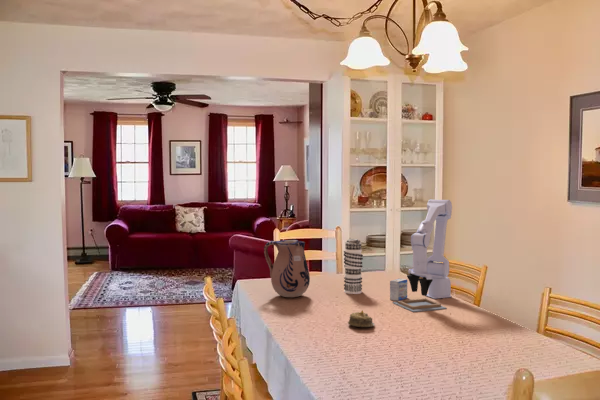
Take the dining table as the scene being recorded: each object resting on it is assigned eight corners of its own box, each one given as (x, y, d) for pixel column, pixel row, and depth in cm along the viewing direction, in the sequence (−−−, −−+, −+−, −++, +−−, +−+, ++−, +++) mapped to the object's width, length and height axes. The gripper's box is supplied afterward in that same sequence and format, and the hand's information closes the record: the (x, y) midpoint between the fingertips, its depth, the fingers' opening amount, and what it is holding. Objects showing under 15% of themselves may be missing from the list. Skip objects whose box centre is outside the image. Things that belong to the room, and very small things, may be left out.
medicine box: (398, 301, 227) (398, 281, 227) (389, 299, 230) (389, 280, 230) (407, 298, 233) (407, 279, 233) (398, 296, 236) (399, 278, 236)
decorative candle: (339, 290, 248) (340, 238, 246) (356, 289, 252) (356, 237, 250) (349, 294, 239) (349, 240, 238) (366, 293, 243) (366, 240, 242)
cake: (353, 329, 185) (353, 314, 185) (343, 322, 195) (344, 308, 195) (379, 327, 188) (379, 313, 188) (368, 320, 198) (368, 306, 197)
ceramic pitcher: (309, 300, 228) (309, 243, 227) (261, 299, 229) (261, 243, 228) (309, 291, 246) (310, 239, 245) (265, 291, 246) (265, 238, 245)
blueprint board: (424, 300, 229) (424, 296, 229) (446, 308, 214) (446, 305, 214) (392, 303, 224) (392, 299, 224) (413, 312, 209) (413, 308, 209)
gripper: (402, 259, 224) (401, 290, 224) (421, 264, 210) (421, 297, 211) (416, 258, 226) (415, 289, 227) (436, 263, 213) (435, 296, 213)
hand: (419, 293), depth 219 cm, fingers open, 7 cm apart
